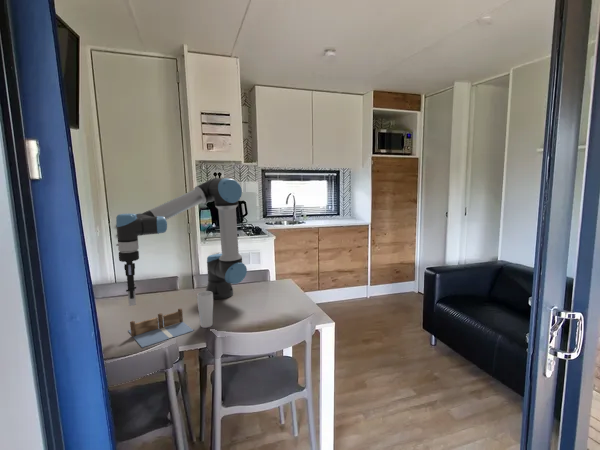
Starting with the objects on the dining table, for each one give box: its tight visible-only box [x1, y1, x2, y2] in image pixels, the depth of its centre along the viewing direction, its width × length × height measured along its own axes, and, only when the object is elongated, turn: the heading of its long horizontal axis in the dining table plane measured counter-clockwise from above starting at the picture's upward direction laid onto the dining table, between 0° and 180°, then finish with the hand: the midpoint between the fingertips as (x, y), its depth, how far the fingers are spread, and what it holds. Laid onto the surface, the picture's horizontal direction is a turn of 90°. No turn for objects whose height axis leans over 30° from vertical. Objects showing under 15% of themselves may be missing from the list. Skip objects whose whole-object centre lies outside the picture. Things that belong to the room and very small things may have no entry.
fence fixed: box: [163, 307, 184, 327], centre depth 148 cm, size 2×8×6 cm, turn 132°
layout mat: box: [127, 319, 194, 349], centre depth 143 cm, size 19×21×1 cm
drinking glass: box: [196, 290, 214, 329], centre depth 147 cm, size 7×7×15 cm
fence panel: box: [129, 313, 164, 338], centre depth 141 cm, size 13×2×6 cm, turn 132°
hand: (132, 304), depth 141 cm, fingers closed
